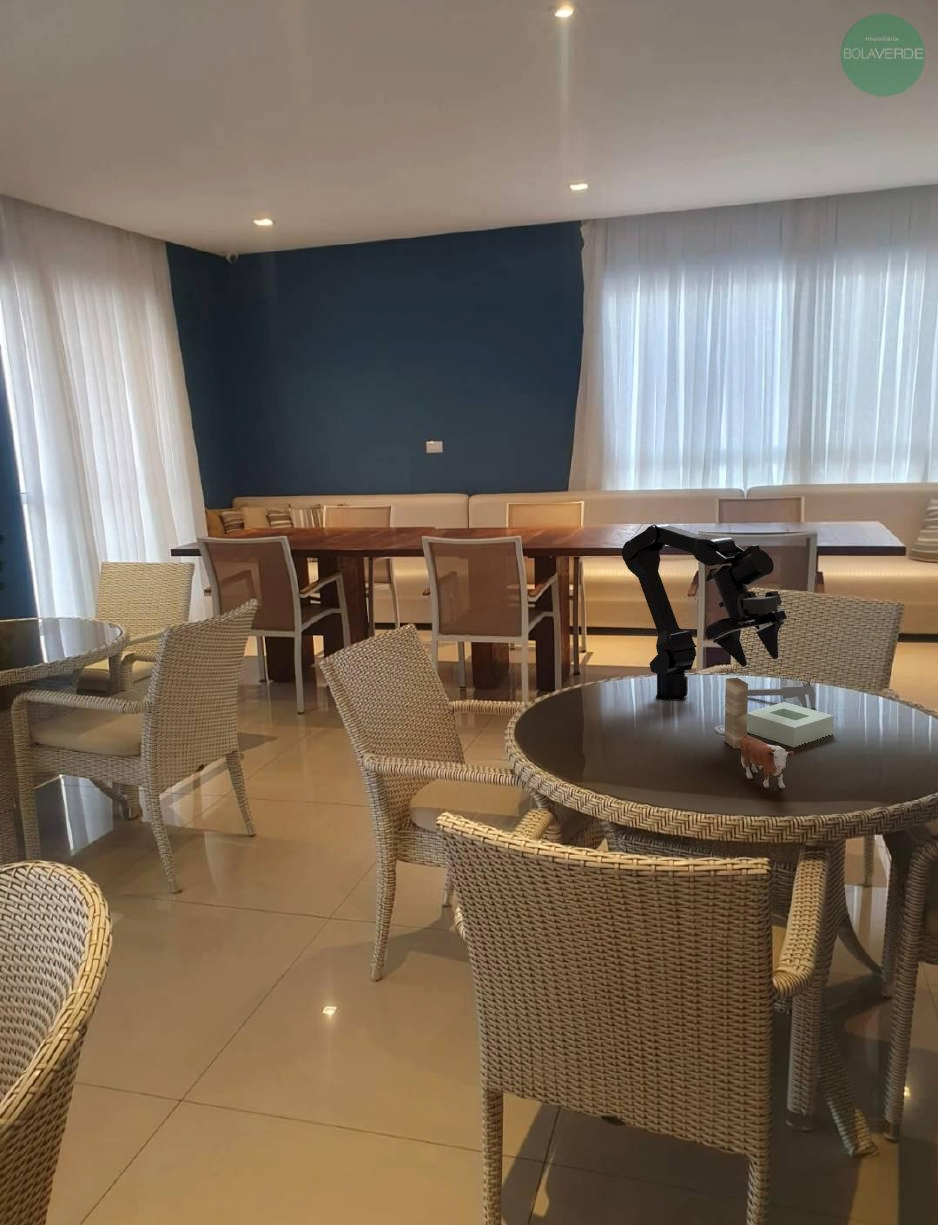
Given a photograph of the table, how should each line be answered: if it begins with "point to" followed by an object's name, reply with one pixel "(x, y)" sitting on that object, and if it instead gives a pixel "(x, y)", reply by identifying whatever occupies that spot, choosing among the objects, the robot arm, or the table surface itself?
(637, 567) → the robot arm
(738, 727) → the slat
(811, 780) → the table surface
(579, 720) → the table surface
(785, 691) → the caliper
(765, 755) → the bull figurine
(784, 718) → the end cap
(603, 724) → the table surface
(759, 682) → the table surface
